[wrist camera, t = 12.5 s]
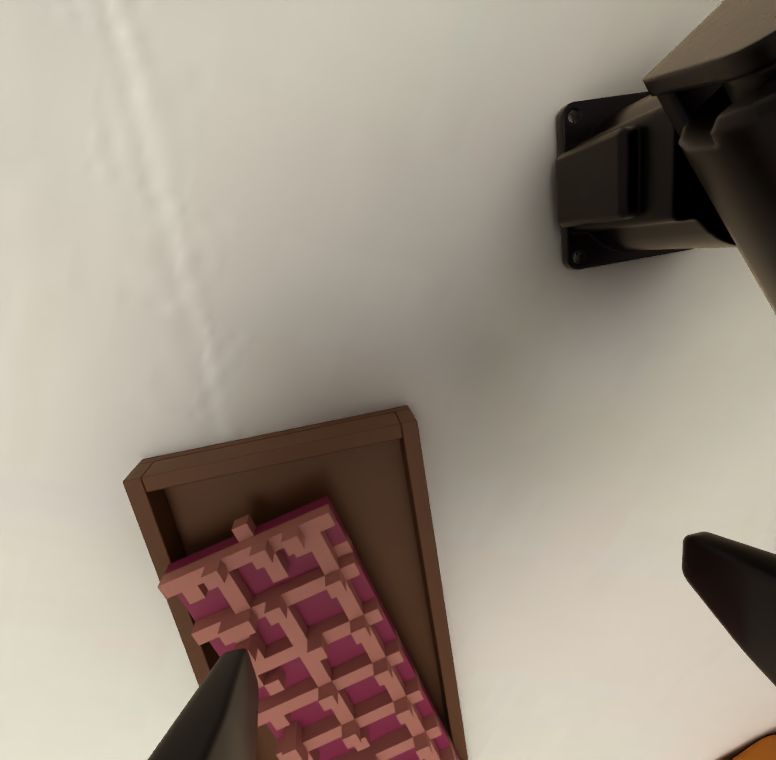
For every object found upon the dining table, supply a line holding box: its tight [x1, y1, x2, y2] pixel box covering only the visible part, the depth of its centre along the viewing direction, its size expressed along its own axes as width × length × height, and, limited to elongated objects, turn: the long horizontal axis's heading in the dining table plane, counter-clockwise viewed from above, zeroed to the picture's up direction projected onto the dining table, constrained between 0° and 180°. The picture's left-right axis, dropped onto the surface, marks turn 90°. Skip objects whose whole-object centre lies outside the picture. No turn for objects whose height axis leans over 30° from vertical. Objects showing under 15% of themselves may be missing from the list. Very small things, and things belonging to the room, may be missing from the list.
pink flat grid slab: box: [158, 496, 461, 760], centre depth 20 cm, size 7×19×2 cm, turn 22°
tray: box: [123, 406, 468, 760], centre depth 22 cm, size 12×24×2 cm, turn 9°
